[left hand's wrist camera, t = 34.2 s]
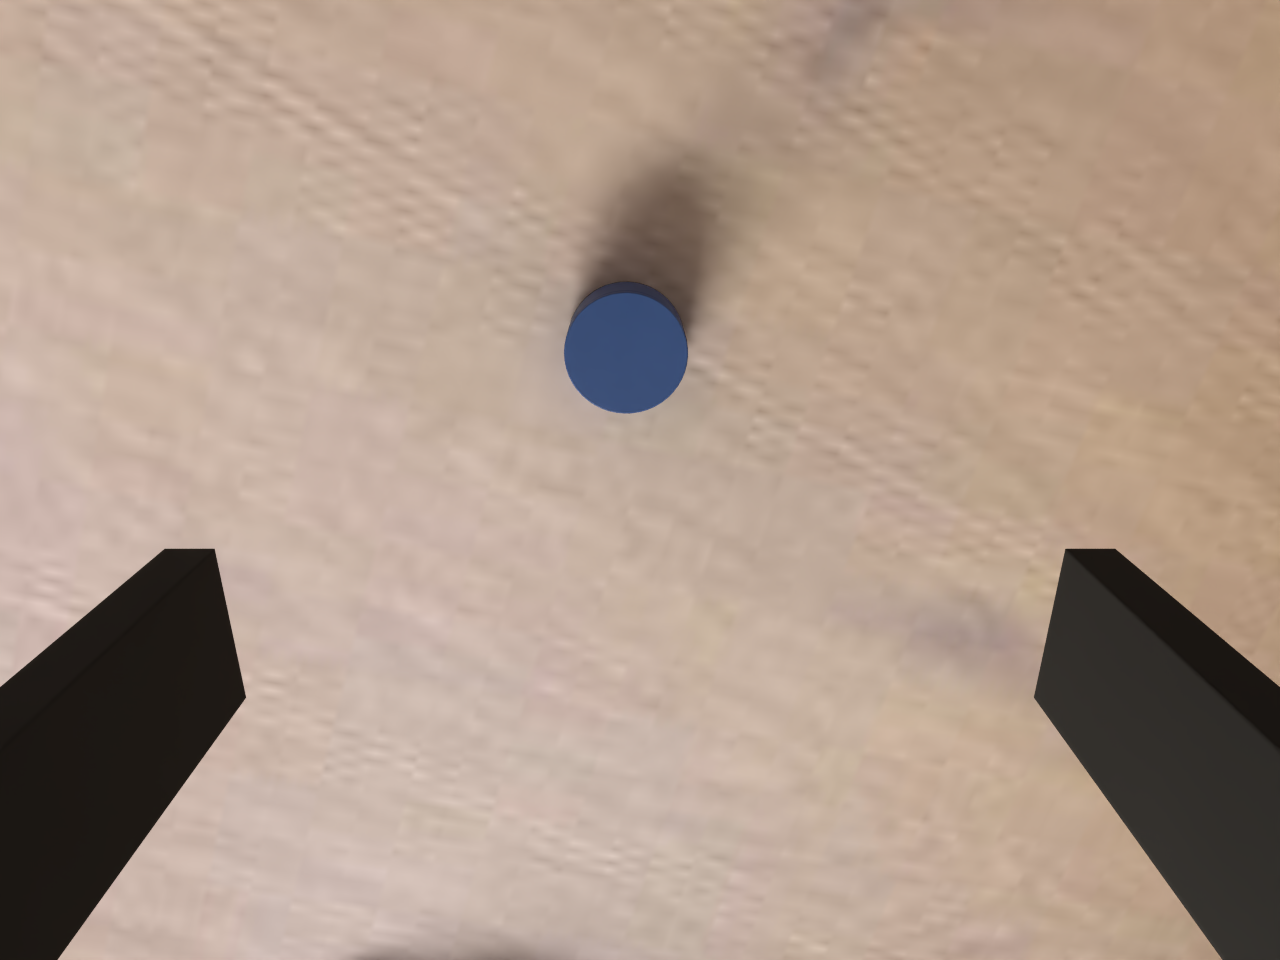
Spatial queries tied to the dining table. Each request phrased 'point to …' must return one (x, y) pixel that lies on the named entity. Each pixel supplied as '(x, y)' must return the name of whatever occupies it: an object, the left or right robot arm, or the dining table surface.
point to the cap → (626, 348)
